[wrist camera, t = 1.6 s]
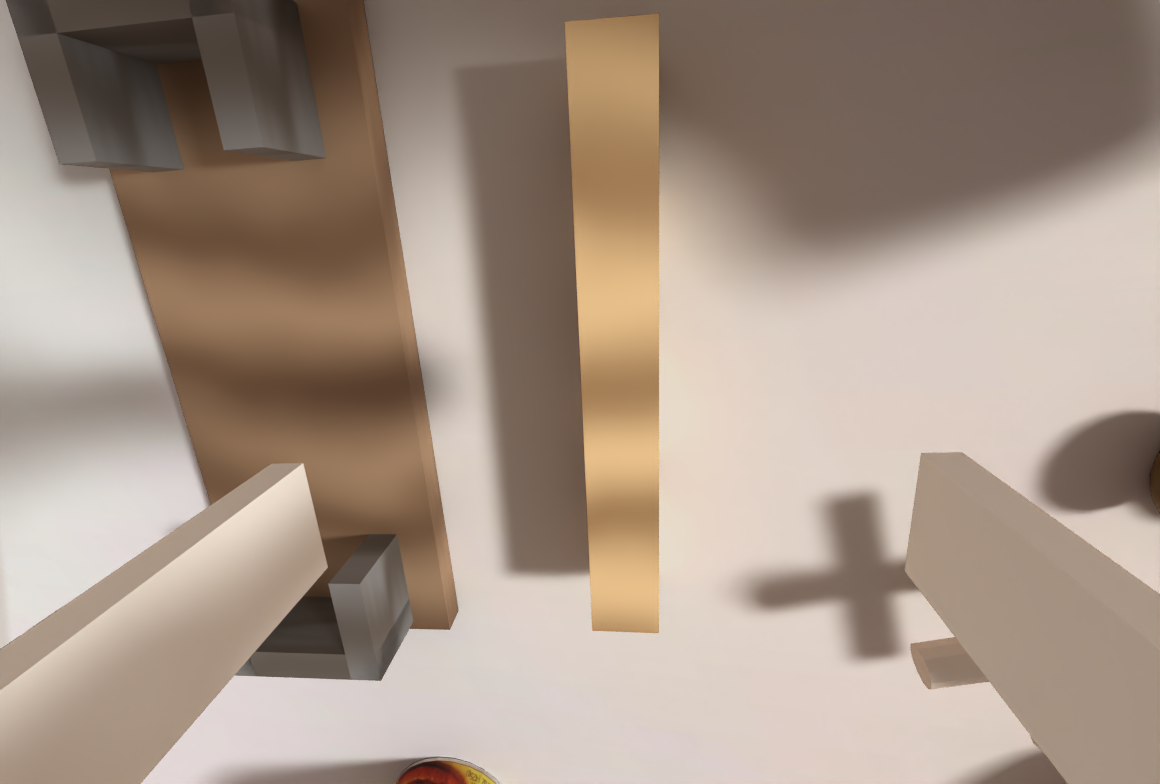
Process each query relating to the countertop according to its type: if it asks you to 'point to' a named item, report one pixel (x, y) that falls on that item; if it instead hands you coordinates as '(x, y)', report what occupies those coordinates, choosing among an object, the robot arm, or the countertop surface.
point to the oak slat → (618, 306)
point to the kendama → (1155, 482)
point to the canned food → (444, 773)
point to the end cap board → (269, 280)
